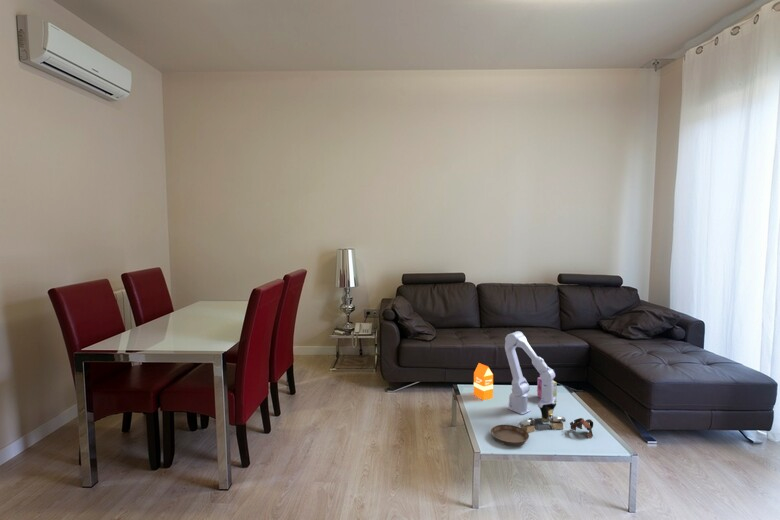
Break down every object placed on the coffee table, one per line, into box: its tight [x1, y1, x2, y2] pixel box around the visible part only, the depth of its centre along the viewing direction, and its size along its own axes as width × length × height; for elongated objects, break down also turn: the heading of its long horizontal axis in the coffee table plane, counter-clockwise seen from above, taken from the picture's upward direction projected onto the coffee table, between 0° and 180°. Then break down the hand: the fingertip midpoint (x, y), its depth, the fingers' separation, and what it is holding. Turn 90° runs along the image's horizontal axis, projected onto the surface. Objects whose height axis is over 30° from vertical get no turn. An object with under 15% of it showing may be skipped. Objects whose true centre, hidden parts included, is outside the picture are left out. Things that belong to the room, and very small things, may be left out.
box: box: [536, 376, 558, 403], centre depth 231 cm, size 10×6×12 cm, turn 17°
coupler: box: [540, 408, 554, 423], centre depth 205 cm, size 6×4×6 cm
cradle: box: [533, 417, 550, 431], centre depth 198 cm, size 6×7×3 cm
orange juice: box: [473, 362, 494, 401], centre depth 235 cm, size 8×9×20 cm
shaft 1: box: [519, 417, 535, 434], centre depth 194 cm, size 8×4×6 cm, turn 116°
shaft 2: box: [548, 416, 566, 430], centre depth 197 cm, size 8×4×6 cm, turn 86°
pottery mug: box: [569, 417, 594, 439], centre depth 191 cm, size 12×10×8 cm
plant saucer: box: [490, 424, 530, 447], centre depth 186 cm, size 18×18×3 cm
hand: (547, 416), depth 205 cm, fingers closed on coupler, 4 cm apart
